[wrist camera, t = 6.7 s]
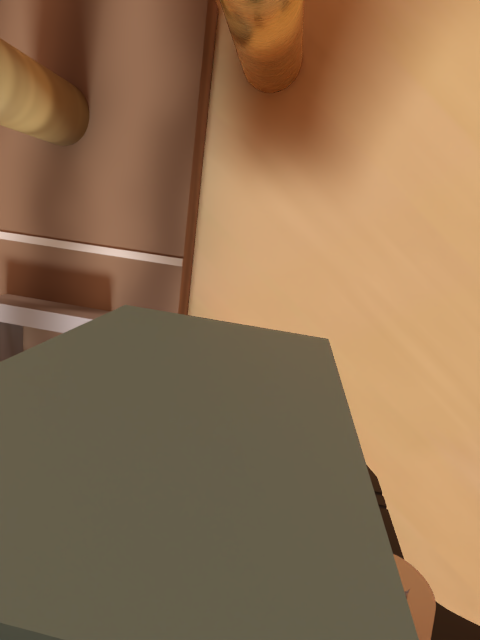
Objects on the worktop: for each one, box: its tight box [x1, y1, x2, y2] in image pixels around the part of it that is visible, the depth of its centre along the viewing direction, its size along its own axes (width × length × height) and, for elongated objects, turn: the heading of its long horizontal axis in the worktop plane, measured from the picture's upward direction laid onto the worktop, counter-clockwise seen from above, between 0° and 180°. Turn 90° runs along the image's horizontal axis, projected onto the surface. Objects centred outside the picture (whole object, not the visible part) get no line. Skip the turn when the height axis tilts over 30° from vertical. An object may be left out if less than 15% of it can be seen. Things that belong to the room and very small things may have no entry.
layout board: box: [0, 0, 218, 362], centre depth 19 cm, size 14×26×8 cm, turn 172°
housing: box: [0, 305, 419, 640], centre depth 8 cm, size 6×6×9 cm
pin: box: [220, 0, 304, 93], centre depth 15 cm, size 3×3×9 cm
